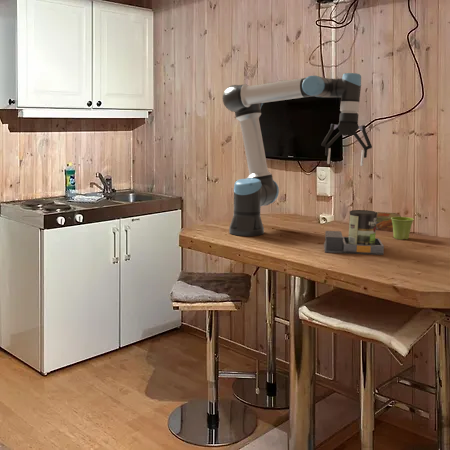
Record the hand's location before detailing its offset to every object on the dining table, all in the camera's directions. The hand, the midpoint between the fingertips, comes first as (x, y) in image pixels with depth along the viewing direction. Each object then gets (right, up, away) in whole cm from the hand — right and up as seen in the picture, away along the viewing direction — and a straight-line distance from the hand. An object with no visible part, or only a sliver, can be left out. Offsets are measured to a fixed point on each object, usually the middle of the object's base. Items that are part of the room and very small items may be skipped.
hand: (345, 164), depth 241 cm
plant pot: (+26, -31, +9) cm, 41 cm away
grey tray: (0, -34, -16) cm, 38 cm away
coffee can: (+3, -34, -16) cm, 38 cm away
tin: (+24, -27, +28) cm, 46 cm away
